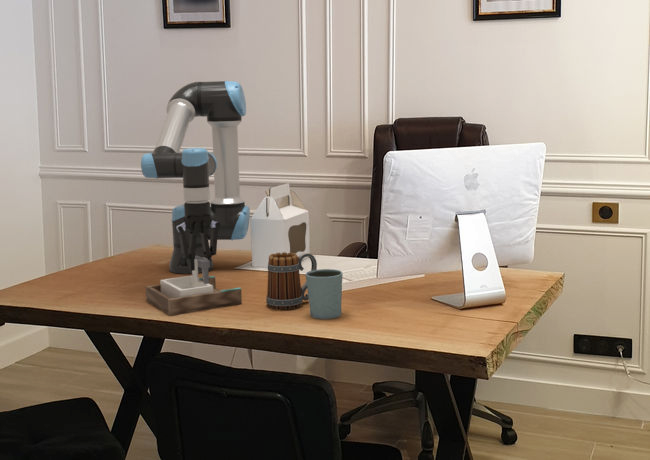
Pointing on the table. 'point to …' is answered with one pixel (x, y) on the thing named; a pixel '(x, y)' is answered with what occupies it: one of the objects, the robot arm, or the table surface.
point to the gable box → (279, 226)
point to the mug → (286, 280)
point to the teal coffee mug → (324, 293)
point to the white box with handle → (188, 283)
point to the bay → (193, 299)
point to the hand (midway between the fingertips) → (200, 280)
